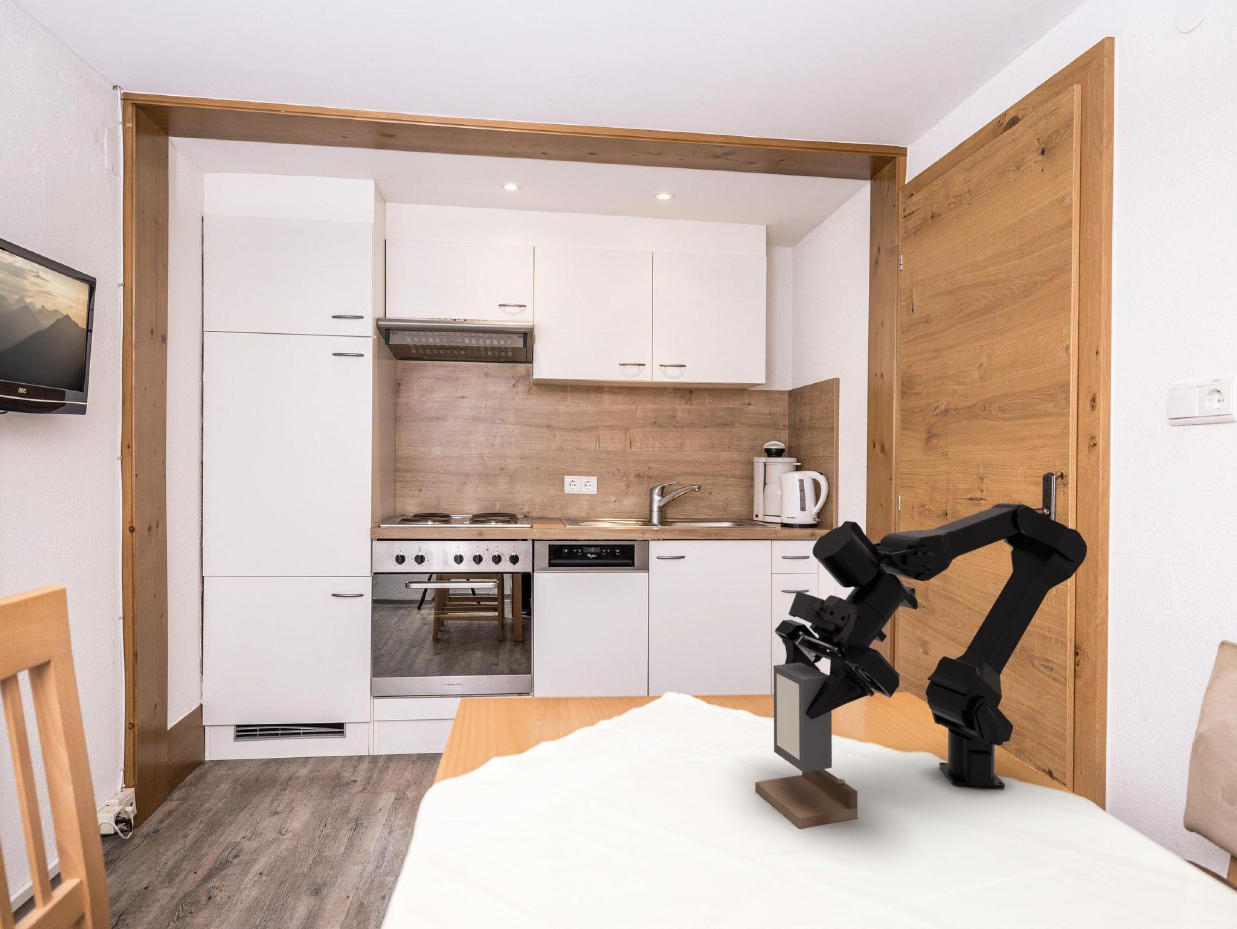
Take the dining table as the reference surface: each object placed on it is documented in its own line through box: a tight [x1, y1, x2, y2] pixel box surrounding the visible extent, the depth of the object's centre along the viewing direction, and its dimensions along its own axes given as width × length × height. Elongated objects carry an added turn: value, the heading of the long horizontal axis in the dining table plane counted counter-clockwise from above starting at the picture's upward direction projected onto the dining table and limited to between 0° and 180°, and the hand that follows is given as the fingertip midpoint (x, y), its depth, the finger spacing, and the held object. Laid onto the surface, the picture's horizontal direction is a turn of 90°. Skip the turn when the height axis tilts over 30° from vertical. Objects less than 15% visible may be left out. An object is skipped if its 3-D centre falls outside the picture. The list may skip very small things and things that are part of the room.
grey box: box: [773, 663, 833, 773], centre depth 87 cm, size 4×6×11 cm, turn 19°
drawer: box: [754, 769, 858, 829], centre depth 87 cm, size 8×10×4 cm
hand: (792, 707), depth 87 cm, fingers closed on grey box, 6 cm apart
